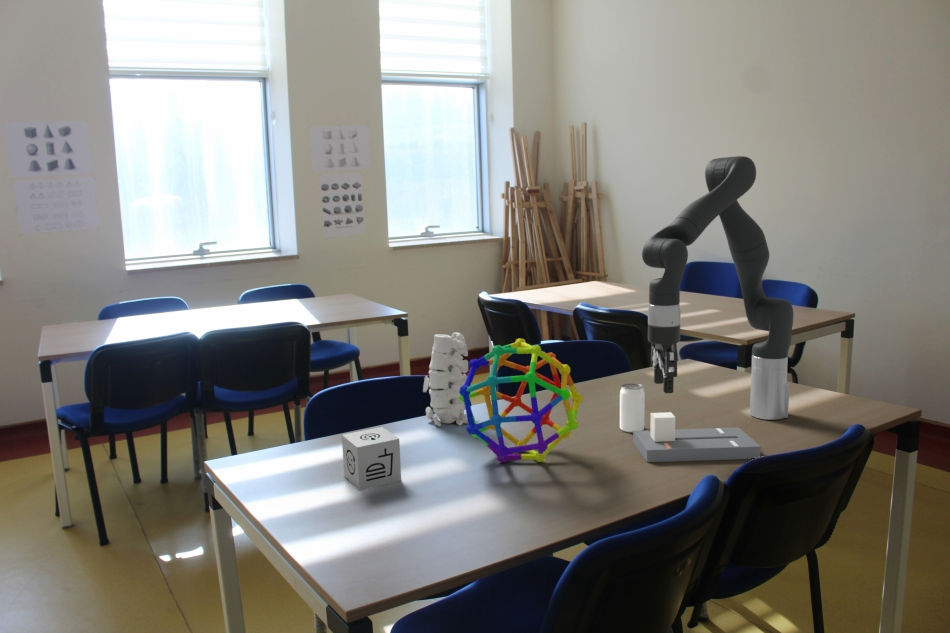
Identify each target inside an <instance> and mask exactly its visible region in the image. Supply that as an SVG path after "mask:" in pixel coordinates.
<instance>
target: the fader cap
mask: <svg viewBox="0 0 950 633" xmlns="http://www.w3.org/2000/svg"><path fill="white" fill-rule="evenodd" d="M676 419H677V418H676V416H675V415H674V414H673V413H672V412H671V411H669V412H650V426H649V427H650V436H651V438H652V439H653V440H654V442H662V441H675V429H676Z"/></svg>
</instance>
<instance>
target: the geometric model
mask: <svg viewBox="0 0 950 633" xmlns="http://www.w3.org/2000/svg"><path fill="white" fill-rule="evenodd" d="M513 354H519V355H521V354H522V355H524V354H526V355H528V354H531V360H530V364H529V365H526V366H524V365H520V364H518V363H515V362H512V361H509V360H507V359H508V358H509V357H510V356H512V355H513ZM538 357H540V358H541V360H539V361H538ZM492 358H493V359H492ZM546 364H549V366H550V371H551V375H552V378H553V380H551V379H550V378H548V377H546V376H544V375H542V374H540V373H539V372H537V370H538V369H539V368H541V367H544V366H545V365H546ZM468 366H469V368H470V369H469V370H468V374H467V375H466V376H467V379H466V381H465V384H464V385H463V386H462V387H460V391H459V393H460V395H459V399H460V401H461V402H464V405H465V409H466V410H465V412H466V413H465V414H467V420H468V423H467V426H466V432H467V433H468V434H469V435H471V436H472V437H473V438H478V439H479V440H480V441H481V442H482V443H483V444H484V445H485V446H486V447H487V448H488V449H489V450H490V451H492V453H494V455H495V456H497V457H496V460H497V461H498V462H499V463H500V464H503V463H507V462H508V461H520V460H521V461H522V460H523V461H526V460H527V461H531V460H532V461H534V460H535V461H536V462H537V463H543V462H544V461H545V460H546V455H548V454H549V453H550V452H551V451H552V450H553V449H554V448H555V447H556V446H557V445H558V444H559V443H561V441H562V440H564V439H569V437H571V435H572V431H576V430H577V428H579V422H578V421H577V417H578V412H579V406H580V404H582V403H583V400H584V397H583V396H582V394H581V393H578V390H577V388H576V386H575V384H574V383H575V382H574V381H573V378H572V377H571V375H570V373H571V367H570V366H569V364H563V363H562V362H560V361H559V360H558V359H557V358H556V354H555V353H553V352H545V351H543V350H542V348H541V346H540V345H539V344H535V345H531V344H529V343H527V342H526V339H524V338H516V339H515V342H512V343H510V344H506V345H503V346H502V345H501V344H498V345H494V346H493V347H492V350H491V351H489V352H488V353H486V354H485V355H483V356H481V357H480V358H479V359H477V358H475V359H474V358H473V359H470V361H469V362H468ZM484 366H485V367H486V366H491V370H490V374H489V375H487V377H486V380H484V381H483V380H482V381H480V382H478V383H475V384H473V380H474V377H475V374H476V371H477V370H478V369H480V367H484ZM502 366H505V367H508V368H511V369H514V370H517V371H521V372H523V373H524V375H514V376H513V375H511V376H500V377H499V376H497V373H498V371H499V369H500V368H501V367H502ZM557 370H558V371H559V373H558V371H557ZM559 374H560V375H561V379H560V377H559ZM517 382H518V383H519V382H521V384H520V386H519V388H518V390H517V393H516V394H515V396H509V395H507V394H504V393H501V392H499V391H497V385H498V384H508V383H517ZM527 383H528V389H529V396H530V403H531V407H530V406H528V405H526V404H525V403H524V402H522V399H521V398H522V396H523V394H524V390H525V388H526V386H527ZM536 384H537V385H538V386H541V387H543V388H545V389H546V390H547V391H550V392H552V393H553V395H552V397H551V398H550V400H549V402H548V403H547V404H546V405H545V406H544V407H542V408H540V410H539V404H538V399H537V398H538V397H537V391H536ZM568 388H569V389H568ZM481 395H482V396H484V401H485V405H486V409H487V414H488V420H484V421H482V422H479V423H477V421H476V419H475V416H474V413H473V410H472V405H471V401H470V400H471V399H472V398H475V397H479V396H481ZM569 398H570V399H571V401H572V406H571V403H570V400H569ZM498 399H501V400H504V401H506V402H508V403H509V405H508V406H506V408H505V409H503V411H501V413H500V414H499V412H500V411H499V406H498V405H499V404H498ZM561 401H562V403H563V406H564V410H565V413H566V418H567V419H566V422H565V425H564V426H563V427H562V426H561V425H559V424H557V423H555V422H554V421H552V420H550V417H549V416H550V414H551V413H552V410H553V408H555V407H556V406H557V405H558V404H559V403H560V402H561ZM516 407H519V408H521V409H522V410H524V411H526V412H527V413H529V414H524V415H512V416H511V415H510V416H509V415H508V414H509V413H511V411H513V409H514V408H516ZM519 422H531V423H532V424H534V427H533V428H532V429H531V430H530V431H529V432H528V433H527V435H526V436H525V437H524V438H523V440H522V439H521V440H519V439H518V438H516V437H515V436H513V435H512V433H510V432H508V431H507V430H506V429H504V428H503V427H502V426H501V424H502V423H519ZM544 425H545V426H546V425H547V426H549V427H551V428H552V429H554V430H555V431H556V432H554V433H553V434H552V435H550V436H548V437H547V438H546V439H544V435H543V429H542V428H543V426H544ZM489 430H491V431H492V430H493V431H495V434H496V438H497V441H498V442H496V441H494V440H493V439H492V438H491V437H489V436H488V435H486V434H485V433H484V432H486V431H489ZM535 435H536V437H537V442H535V443H529V444H528V442H530V441H531V439H533V437H534V436H535ZM504 438H506V439H507V440H509V441H510V442H511V443H512V444H514V445H515V446H512V447H510V446H509V447H507V445H505V441H504ZM522 452H526V453H522ZM518 453H519V454H518Z"/></svg>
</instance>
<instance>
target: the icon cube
mask: <svg viewBox="0 0 950 633" xmlns="http://www.w3.org/2000/svg"><path fill="white" fill-rule="evenodd" d="M341 443H342V444H341V445H342V446H341V447H342V458H343V459H342V461H343V476H344V477H345V478H346V479H347V480H348V481H349V482H350V483H351V484H352V485H353V486H354V487H355V488H356V489H357V490H358V491H364V490H369V489H372V488H375V487H376V488H377V487H380V486H381V487H382V486H385V485H389V484H393V483H397V482H401V481H402V470H401V469H402V468H401V450H400V449H401V447H400V438H399V437H397V436H396V435H395V434H393V433H392V432H390V431H389V430H388V429H386V428H385V427H383V426H381V427H374V428H369V429H363V430H358V431H354V432H350V433H349V432H348V433H344V434H341Z"/></svg>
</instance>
